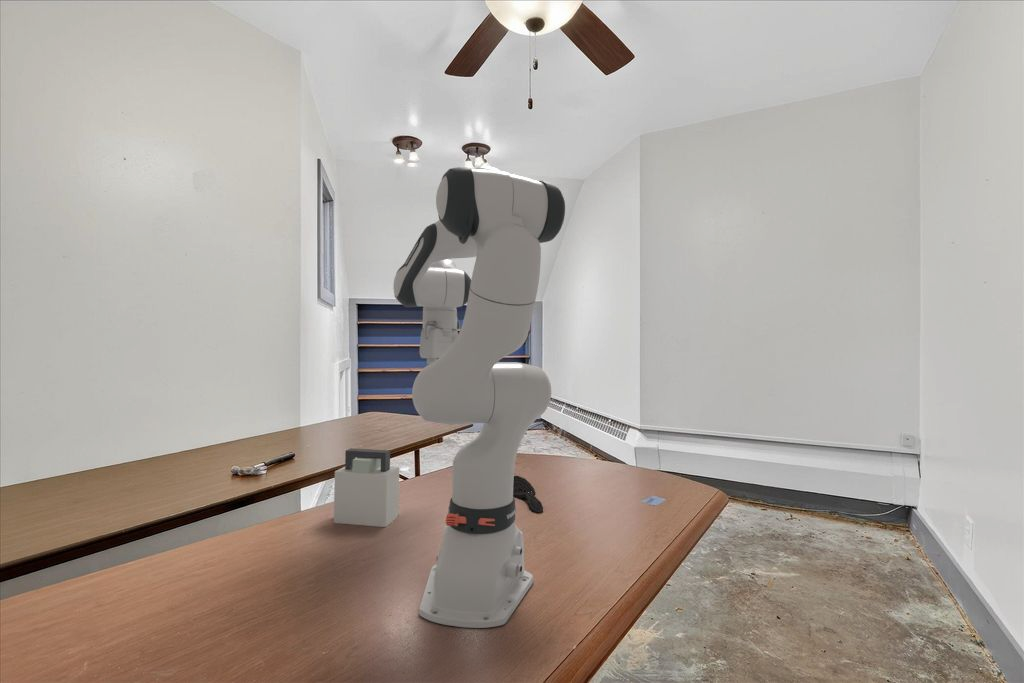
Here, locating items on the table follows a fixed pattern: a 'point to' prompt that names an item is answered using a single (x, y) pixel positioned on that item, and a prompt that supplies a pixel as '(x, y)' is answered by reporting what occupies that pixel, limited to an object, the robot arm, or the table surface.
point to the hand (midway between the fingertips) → (438, 375)
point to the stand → (366, 494)
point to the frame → (368, 453)
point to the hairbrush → (526, 493)
